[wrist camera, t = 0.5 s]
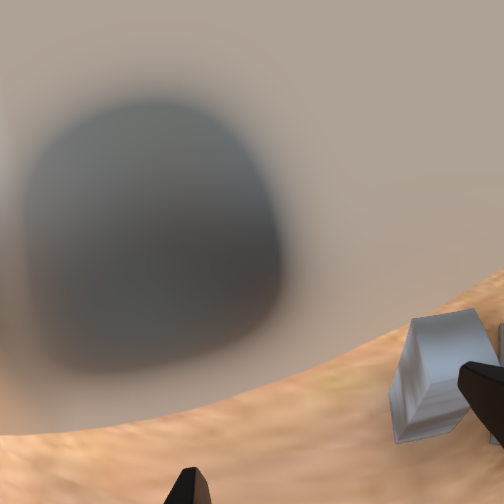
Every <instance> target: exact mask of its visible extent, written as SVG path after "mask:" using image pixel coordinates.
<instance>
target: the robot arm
mask: <svg viewBox="0 0 504 504" xmlns="http://www.w3.org/2000/svg"><path fill="white" fill-rule="evenodd" d="M457 386H458V389H459V390H460V392H461V393H462V395H463V396H464V398H465V399H466V401H467V402H468V404H469V405H470V407H471V408H472V410H473V411H474V413H475V414H476V415H477V417H478V418H479V419H480V421H481V422H482V423H483V424H484V425H485V427H486V428H487V429H488V430H489V431H490V433H491V434H492V435H493V436H494V437H495V439H496V440H497V441H498V442H499V443H500V445H501V446H502V447H503V448H504V367H501V366H495V365H490V364H484V363H479V362H474V361H468V362H466V363H465V364H463V365H462V366H461V367H460V369H459V375H458V381H457ZM164 504H212V503H211V498H210V493H209V488H208V484H207V481H206V479H205V478H204V477H203V475H202V474H201V472H200V471H199V469H198V468H197V467H190V468H185V469H183V470H182V472H181V473H180V475H179V477H178V479H177V481H176V482H175V484H174V486H173V488H172V490H171V491H170V493H169V495H168V497H167V498H166V500H165V502H164Z"/></svg>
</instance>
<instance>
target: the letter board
mask: <svg viewBox="0 0 504 504" xmlns="http://www.w3.org/2000/svg"><path fill="white" fill-rule="evenodd" d="M499 364H500V366H501V367H504V324H503V323H501V324H500V326H499ZM489 443H491V444H498V445H500V443H499V442H498V441H497V440H496V439H495V437H494V436H493V435H492V434H491V437H490V442H489Z"/></svg>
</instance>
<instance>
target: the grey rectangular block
mask: <svg viewBox="0 0 504 504" xmlns="http://www.w3.org/2000/svg"><path fill="white" fill-rule="evenodd" d="M468 361H474V362H479V363H484V364H490V365H495V366H500V364H499V361H498V359H497V356H496V354H495V352H494V349H493V347H492V345H491V342H490V340H489V338H488V336H487V334H486V332H485V329H484V327H483V325H482V323H481V321H480V319H479V317H478V315H477V313H476V311H475V309H469V310H464V311H458V312H452V313H446V314H440V315H434V316H427V317H421V318H414V319H412V320H411V324H410V327H409V331H408V335H407V338H406V342H405V345H404V348H403V352H402V355H401V358H400V361H399V365H398V368H397V371H396V374H395V377H394V380H393V382H392V385H391V388H390V391H389V394H388V396H389V402H390V409H391V415H392V423H393V430H394V438H395V444H399V443H404V442H410V441H414V440H419V439H424V438H428V437H432V436H437V435H441V434H444V433H448V432H450V431H451V430H452V429H453V428H454V426H455V425H456V424H457V423H458V422H459V421H460V419H461V418H462V417H463V416H464V415H465V413H466V412H467V411H468V410H469V409H470V405H469V404H468V402H467V401H466V399H465V398H464V396H463V395H462V393H461V392H460V390H459V389H458V386H457V381H458V375H459V369H460V367H461V366H462V365H463V364H465V363H466V362H468Z"/></svg>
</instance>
